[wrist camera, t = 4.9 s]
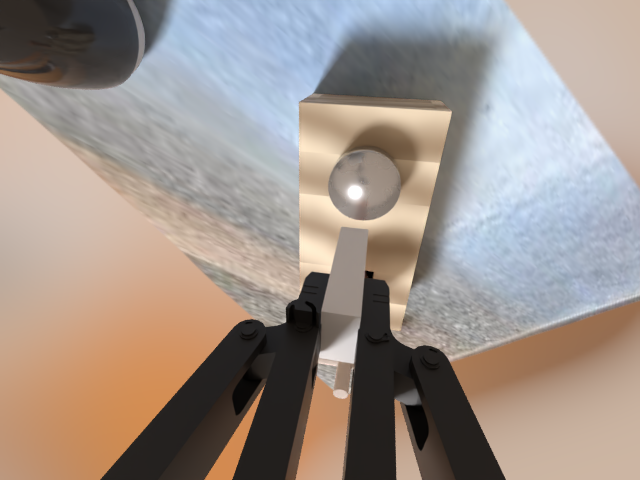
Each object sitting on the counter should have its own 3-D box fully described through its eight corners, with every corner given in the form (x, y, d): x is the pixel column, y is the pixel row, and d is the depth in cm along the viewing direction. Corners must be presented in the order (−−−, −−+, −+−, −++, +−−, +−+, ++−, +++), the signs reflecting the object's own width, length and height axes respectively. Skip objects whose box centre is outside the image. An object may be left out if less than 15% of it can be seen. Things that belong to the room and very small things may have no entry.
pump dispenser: (120, -68, 27) (-121, -173, 14) (182, 64, 32) (43, 76, 19) (41, -16, 30) (-214, -63, 17) (108, 98, 35) (-54, 127, 22)
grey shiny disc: (340, 128, 31) (329, 149, 25) (402, 133, 31) (406, 155, 24) (337, 185, 34) (326, 216, 28) (393, 191, 34) (394, 224, 27)
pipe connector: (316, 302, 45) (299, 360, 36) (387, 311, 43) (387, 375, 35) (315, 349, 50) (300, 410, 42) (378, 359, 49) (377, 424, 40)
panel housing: (313, 93, 31) (299, 102, 26) (440, 100, 29) (452, 111, 24) (309, 284, 43) (299, 315, 38) (398, 296, 42) (400, 331, 37)
